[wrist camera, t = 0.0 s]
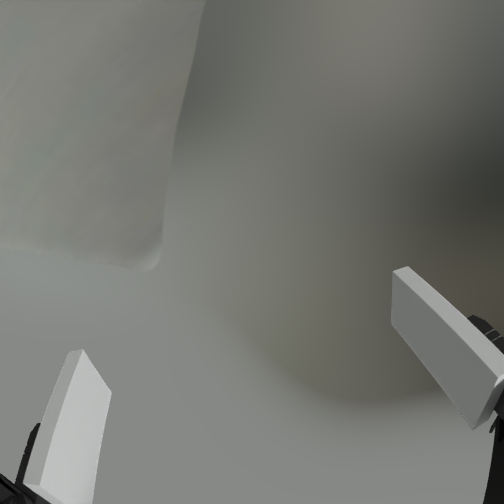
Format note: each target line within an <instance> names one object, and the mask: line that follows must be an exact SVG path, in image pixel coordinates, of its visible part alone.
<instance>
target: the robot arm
mask: <svg viewBox="0 0 504 504" xmlns="http://www.w3.org/2000/svg"><path fill="white" fill-rule="evenodd" d="M391 324H392V325H393V327H394V328H395V329H396V330H397V331H398V333H399V334H400V335H401V336H402V338H403V339H404V340H405V341H406V343H407V344H408V345H409V346H410V348H411V349H412V350H413V351H414V352H415V354H416V355H417V356H418V358H419V359H420V360H421V362H422V363H423V364H424V365H425V367H426V368H427V369H428V370H429V372H430V373H431V374H432V376H433V377H434V378H435V380H436V381H437V382H438V384H439V385H440V386H441V388H442V389H443V390H444V392H445V393H446V394H447V396H448V397H449V398H450V400H451V401H452V402H453V404H454V405H455V407H456V408H457V409H458V411H459V412H460V413H461V415H462V416H463V417H464V419H465V420H466V422H467V423H468V425H469V426H470V427H471V429H472V430H473V429H475V428H476V427H478V426H479V425H481V424H483V423H484V422H486V421H487V420H488V419H489V418H490V416H491V414H492V412H493V410H495V411H496V413H497V414H498V416H497V418H496V419H495V421H494V423H493V425H492V426H491V429H490V431H489V433H492V432H493V430H494V428H495V437H494V446H493V453H492V460H491V467H490V472H489V477H488V483H487V488H486V492H485V497H484V501H483V504H504V338H503V337H501V335H500V334H499V333H498V332H497V331H496V330H494V328H492V326H491V325H490V324H488V323H487V322H486V321H485V320H483V319H481V318H479V317H476V316H474V315H472V316H470V317H468V318H466V317H464V316H463V315H462V314H461V313H460V312H459V311H458V310H457V309H456V308H455V307H454V306H453V305H451V304H450V303H449V302H448V301H447V300H446V299H445V298H444V297H443V296H441V295H440V294H439V293H438V292H437V291H436V290H435V289H433V288H432V287H431V286H430V285H429V284H428V283H427V282H426V281H424V280H423V279H422V278H421V277H420V276H419V275H417V274H416V273H415V272H414V271H413V270H411V269H410V268H409V267H408V266H407V267H404V268H401V269H398V270H395V271H393V282H392V314H391ZM111 394H112V393H111V391H110V390H109V388H108V387H107V386H106V384H105V383H104V381H103V380H102V378H101V376H100V375H99V373H98V372H97V370H96V369H95V367H94V366H93V364H92V363H91V361H90V360H89V358H88V356H87V355H86V353H85V351H84V350H83V349H81V350H75V351H69V353H68V355H67V358H66V360H65V362H64V365H63V367H62V370H61V372H60V374H59V377H58V379H57V382H56V384H55V387H54V389H53V392H52V394H51V397H50V400H49V402H48V405H47V408H46V411H45V413H44V417H43V419H42V422H41V423H37V425H36V426H35V427H34V429H33V430H32V431H31V433H30V436H29V439H28V442H27V446H26V448H25V451H24V453H25V454H23V457H22V460H21V464H20V467H19V471H18V474H17V478H16V481H15V484H13V483H12V482H11V481H10V480H8V479H7V478H6V477H5V476H3V475H2V474H0V504H92V501H93V493H94V486H95V479H96V472H97V466H98V460H99V454H100V448H101V443H102V437H103V432H104V426H105V422H106V417H107V412H108V407H109V403H110V398H111Z"/></svg>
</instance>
